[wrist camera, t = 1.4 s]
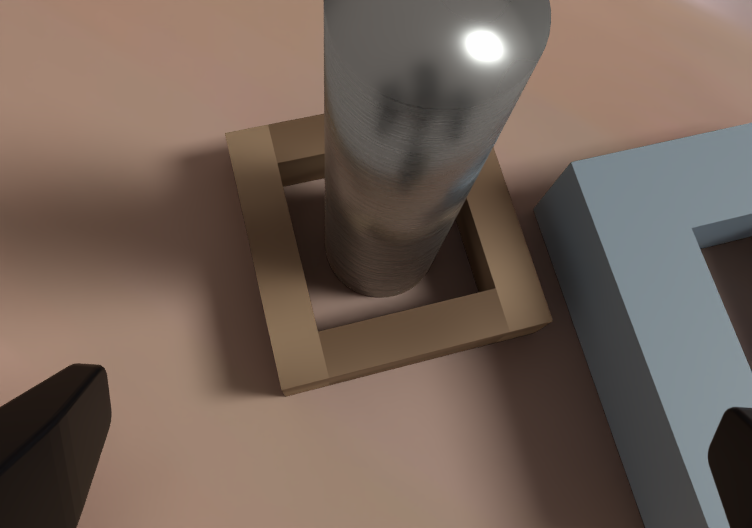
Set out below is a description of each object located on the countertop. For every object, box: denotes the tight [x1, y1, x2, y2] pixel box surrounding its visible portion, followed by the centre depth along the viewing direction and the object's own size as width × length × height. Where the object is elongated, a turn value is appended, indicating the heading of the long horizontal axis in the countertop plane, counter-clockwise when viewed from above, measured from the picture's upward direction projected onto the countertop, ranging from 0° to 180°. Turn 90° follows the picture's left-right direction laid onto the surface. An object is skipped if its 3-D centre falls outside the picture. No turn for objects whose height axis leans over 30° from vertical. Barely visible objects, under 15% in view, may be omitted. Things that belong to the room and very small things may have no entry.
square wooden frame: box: [225, 114, 553, 397], centre depth 23 cm, size 9×9×2 cm
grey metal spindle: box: [324, 0, 551, 297], centre depth 18 cm, size 4×4×13 cm
